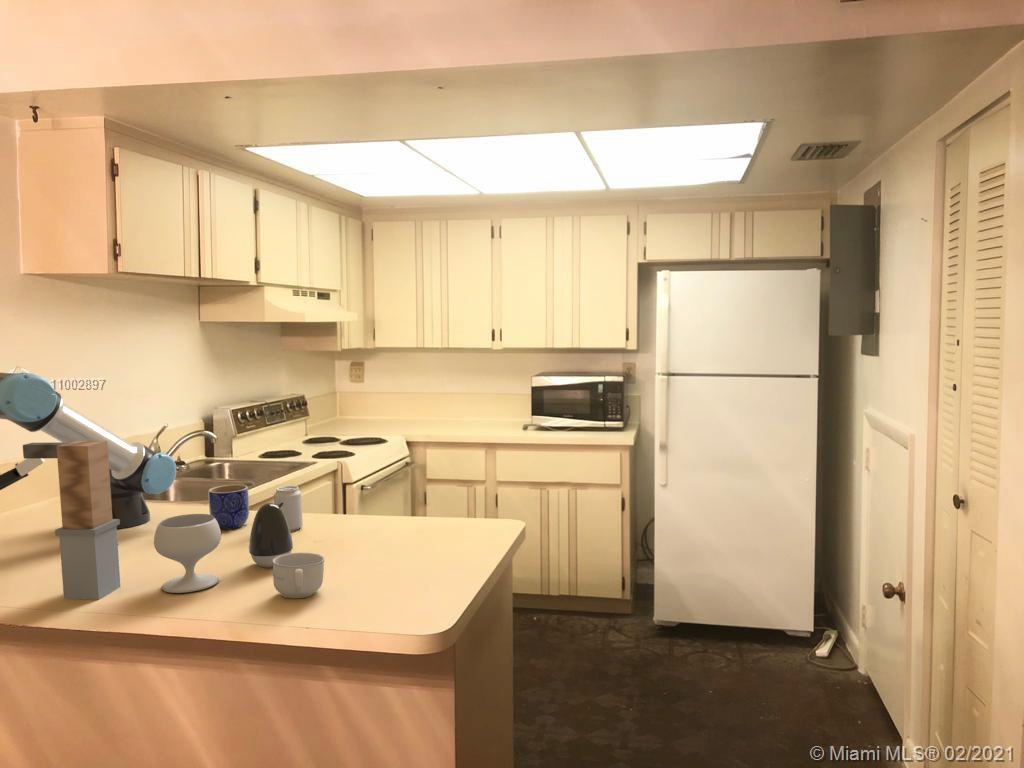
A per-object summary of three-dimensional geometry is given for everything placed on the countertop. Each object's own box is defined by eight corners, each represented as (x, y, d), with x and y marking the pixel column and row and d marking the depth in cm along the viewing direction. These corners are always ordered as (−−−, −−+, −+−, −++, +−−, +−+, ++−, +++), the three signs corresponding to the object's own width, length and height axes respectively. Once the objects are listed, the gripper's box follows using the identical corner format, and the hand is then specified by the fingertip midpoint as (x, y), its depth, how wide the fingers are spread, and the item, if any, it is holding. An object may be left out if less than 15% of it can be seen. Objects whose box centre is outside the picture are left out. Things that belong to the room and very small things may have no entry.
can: (295, 533, 218) (293, 490, 217) (270, 532, 220) (268, 490, 219) (307, 525, 225) (305, 485, 224) (283, 525, 227) (281, 484, 226)
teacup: (280, 586, 175) (278, 551, 174) (329, 584, 176) (327, 549, 175) (265, 609, 161) (263, 571, 160) (319, 607, 162) (317, 569, 161)
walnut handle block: (22, 528, 169) (15, 446, 168) (44, 519, 176) (38, 441, 175) (93, 528, 168) (87, 446, 166) (112, 520, 175) (107, 440, 173)
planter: (258, 524, 228) (256, 486, 227) (226, 533, 219) (224, 494, 218) (233, 519, 234) (231, 483, 233) (202, 528, 225) (199, 490, 224)
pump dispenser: (302, 559, 194) (299, 499, 193) (276, 572, 184) (273, 509, 183) (267, 556, 197) (264, 496, 196) (241, 568, 188) (237, 506, 186)
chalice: (196, 571, 186) (193, 509, 185) (236, 580, 179) (233, 516, 178) (143, 589, 174) (139, 524, 173) (184, 600, 167) (179, 531, 166)
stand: (60, 599, 169) (55, 529, 168) (86, 585, 178) (81, 518, 176) (99, 600, 168) (94, 530, 167) (123, 586, 177) (119, 519, 176)
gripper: (-3, 510, 186) (66, 465, 184) (-93, 540, 162) (-16, 489, 159) (-20, 483, 186) (49, 438, 183) (-113, 510, 162) (-35, 458, 159)
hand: (19, 462), depth 171 cm, fingers open, 13 cm apart
